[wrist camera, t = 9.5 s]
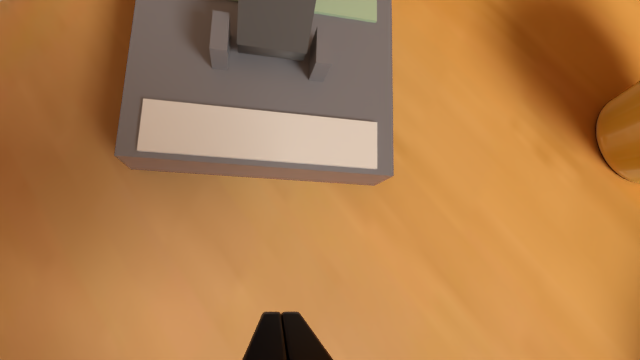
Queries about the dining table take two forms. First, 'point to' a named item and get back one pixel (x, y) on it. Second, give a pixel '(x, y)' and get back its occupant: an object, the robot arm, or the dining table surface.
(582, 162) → the dining table surface
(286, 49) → the handle
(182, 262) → the dining table surface
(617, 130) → the plant pot
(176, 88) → the switch base
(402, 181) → the dining table surface
